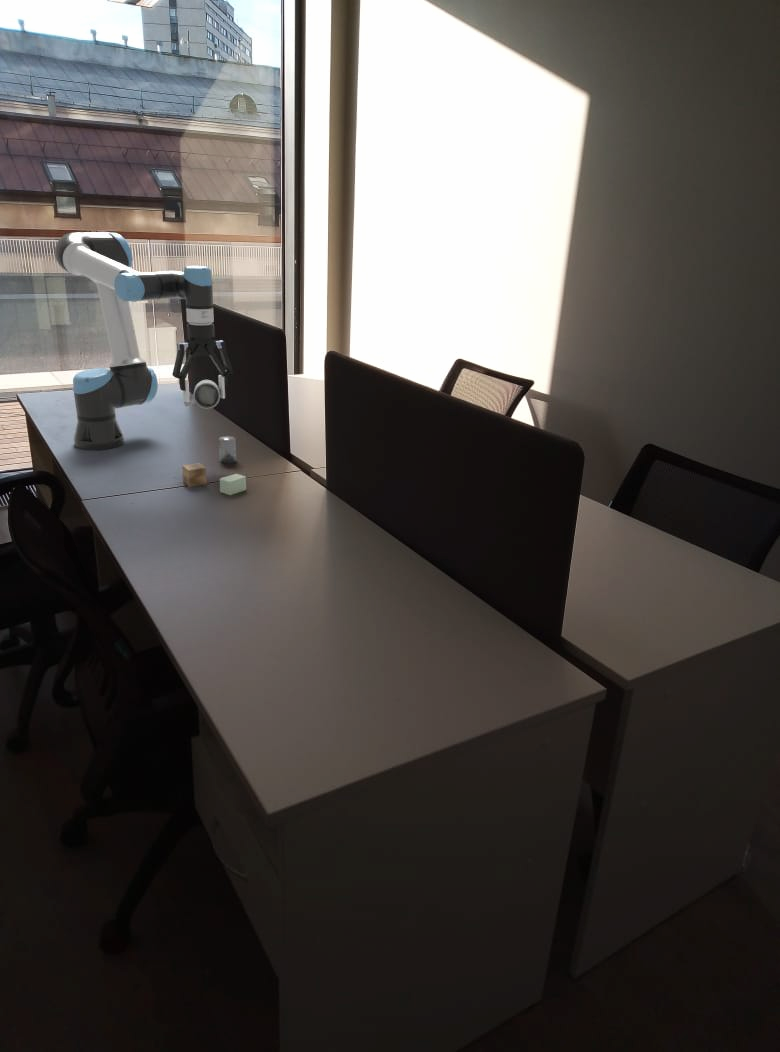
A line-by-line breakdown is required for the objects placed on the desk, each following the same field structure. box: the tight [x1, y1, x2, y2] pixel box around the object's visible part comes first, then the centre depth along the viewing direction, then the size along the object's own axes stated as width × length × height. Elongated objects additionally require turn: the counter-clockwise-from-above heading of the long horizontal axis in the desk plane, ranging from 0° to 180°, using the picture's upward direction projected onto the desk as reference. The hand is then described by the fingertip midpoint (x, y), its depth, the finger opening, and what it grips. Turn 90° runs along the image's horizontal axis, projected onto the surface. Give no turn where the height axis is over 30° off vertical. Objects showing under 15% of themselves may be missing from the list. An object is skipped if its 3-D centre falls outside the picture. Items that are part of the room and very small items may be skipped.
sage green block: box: [219, 473, 247, 496], centre depth 212 cm, size 6×4×4 cm, turn 143°
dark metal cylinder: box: [218, 435, 237, 464], centre depth 236 cm, size 5×5×7 cm
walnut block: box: [181, 462, 208, 488], centre depth 217 cm, size 5×5×5 cm
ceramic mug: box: [183, 379, 221, 410], centre depth 228 cm, size 11×8×8 cm
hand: (204, 399), depth 228 cm, fingers closed on ceramic mug, 10 cm apart
